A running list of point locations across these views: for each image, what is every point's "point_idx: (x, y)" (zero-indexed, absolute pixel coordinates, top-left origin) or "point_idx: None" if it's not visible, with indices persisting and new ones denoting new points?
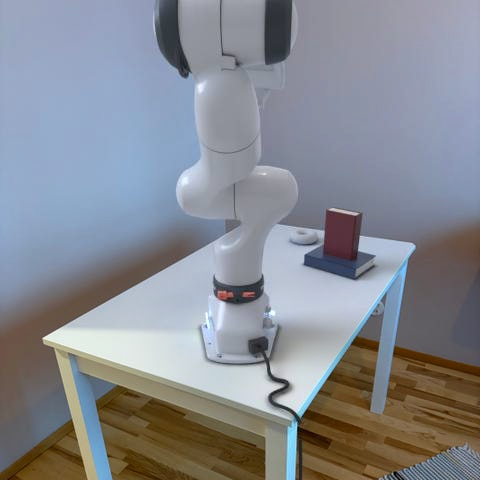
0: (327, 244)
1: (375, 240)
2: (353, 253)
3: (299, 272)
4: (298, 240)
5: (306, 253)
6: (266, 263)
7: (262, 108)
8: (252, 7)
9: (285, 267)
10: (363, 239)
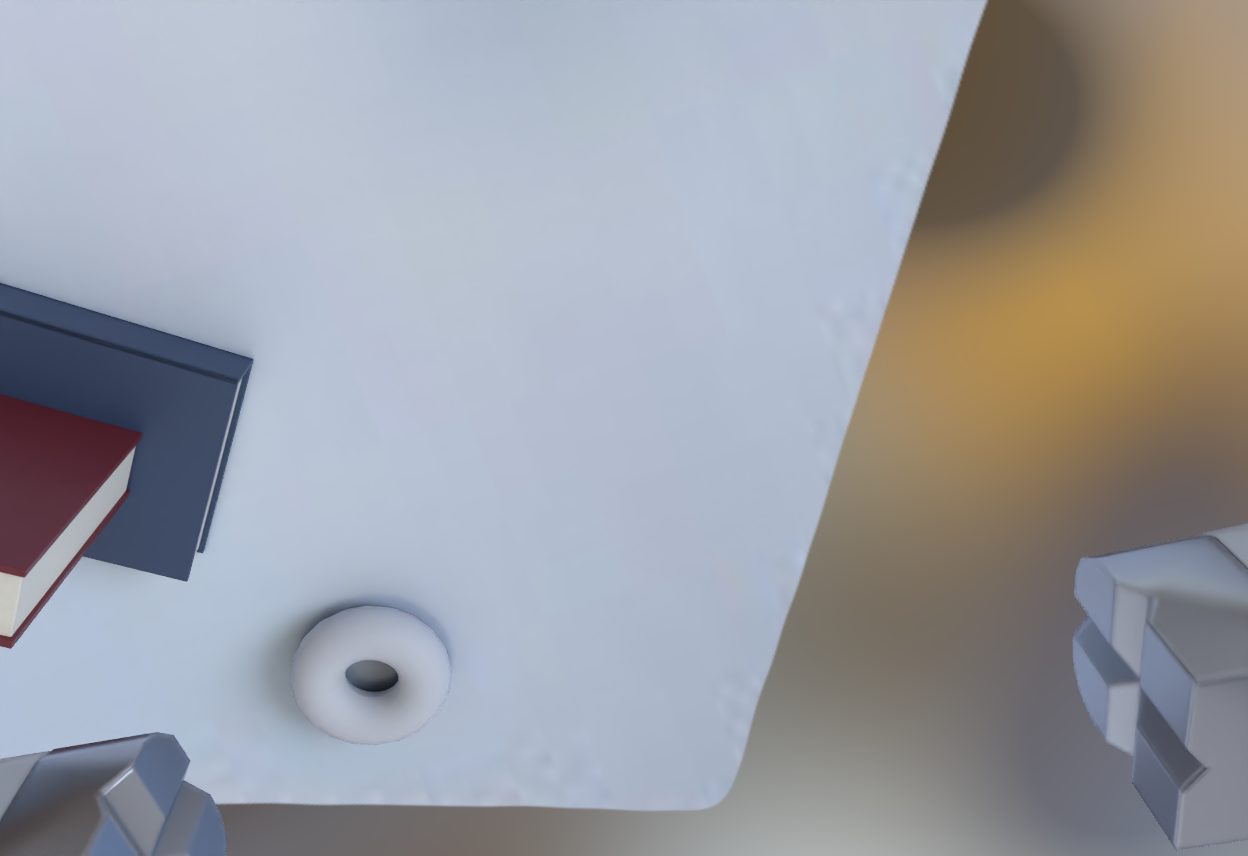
0: (91, 450)
1: None
2: None
3: (237, 251)
4: (377, 612)
5: (232, 400)
6: (461, 312)
7: (37, 755)
8: None
9: (338, 293)
10: None
